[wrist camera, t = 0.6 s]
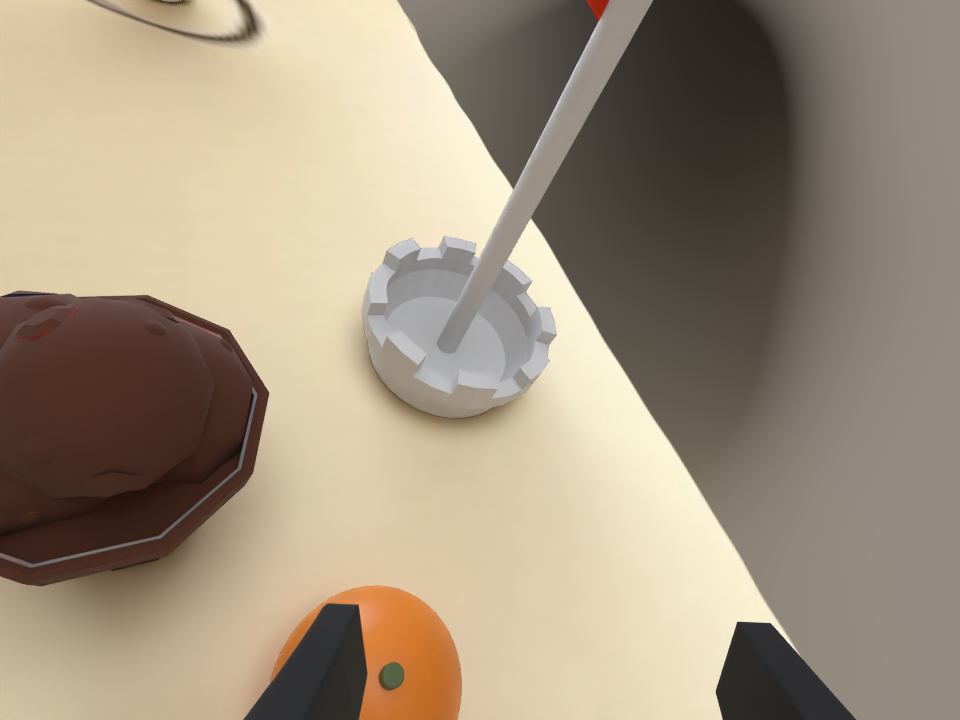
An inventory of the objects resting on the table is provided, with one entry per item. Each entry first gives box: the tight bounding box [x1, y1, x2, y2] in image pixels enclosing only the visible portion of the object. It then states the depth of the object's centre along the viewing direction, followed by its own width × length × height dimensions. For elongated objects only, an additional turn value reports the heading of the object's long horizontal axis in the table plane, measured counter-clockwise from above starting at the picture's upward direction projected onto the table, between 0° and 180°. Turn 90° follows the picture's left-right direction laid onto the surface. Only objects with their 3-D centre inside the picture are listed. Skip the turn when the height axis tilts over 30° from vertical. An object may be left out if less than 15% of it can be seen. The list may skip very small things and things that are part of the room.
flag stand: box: [362, 0, 653, 418], centre depth 27 cm, size 13×13×30 cm
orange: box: [270, 586, 462, 720], centre depth 21 cm, size 8×8×8 cm
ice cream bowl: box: [0, 291, 269, 586], centre depth 19 cm, size 11×11×15 cm
